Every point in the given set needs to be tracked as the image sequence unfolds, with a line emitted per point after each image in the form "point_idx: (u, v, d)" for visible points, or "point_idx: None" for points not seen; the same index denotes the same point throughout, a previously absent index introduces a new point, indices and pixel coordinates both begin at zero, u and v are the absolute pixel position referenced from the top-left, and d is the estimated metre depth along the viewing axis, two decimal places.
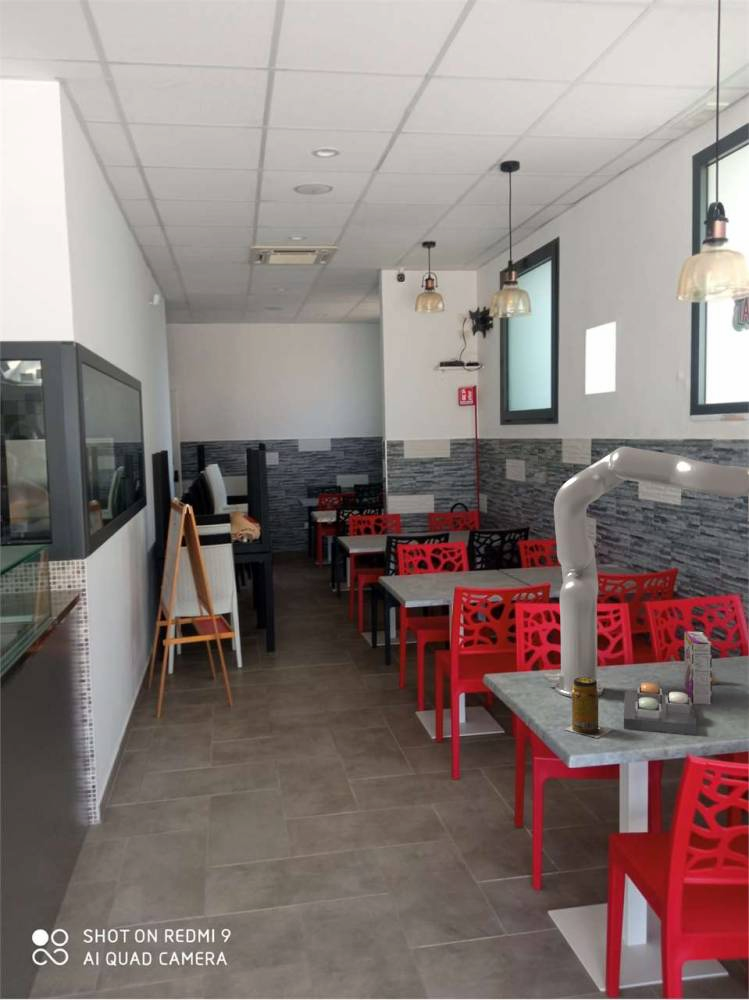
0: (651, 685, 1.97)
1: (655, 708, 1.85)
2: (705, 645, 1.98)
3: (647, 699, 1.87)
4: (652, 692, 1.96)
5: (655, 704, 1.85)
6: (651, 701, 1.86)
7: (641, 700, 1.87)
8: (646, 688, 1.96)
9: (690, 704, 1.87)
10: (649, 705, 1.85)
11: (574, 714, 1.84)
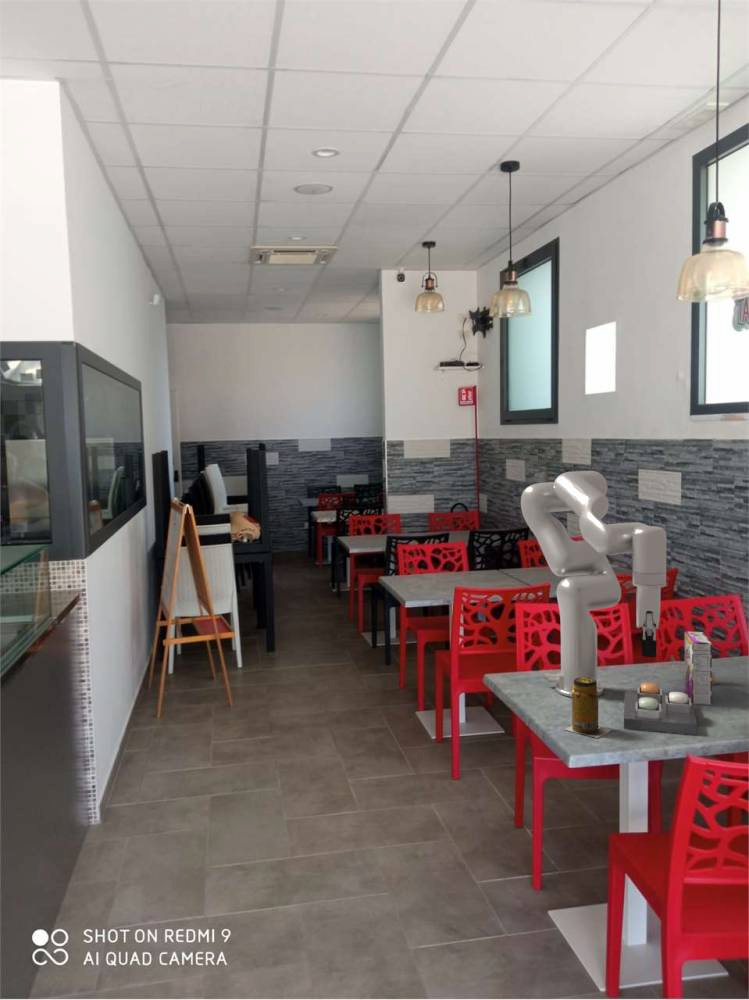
0: (651, 685, 1.97)
1: (655, 708, 1.85)
2: (705, 645, 1.98)
3: (647, 699, 1.87)
4: (652, 692, 1.96)
5: (655, 704, 1.85)
6: (651, 701, 1.86)
7: (641, 700, 1.87)
8: (646, 688, 1.96)
9: (690, 704, 1.87)
10: (649, 705, 1.85)
11: (574, 714, 1.84)
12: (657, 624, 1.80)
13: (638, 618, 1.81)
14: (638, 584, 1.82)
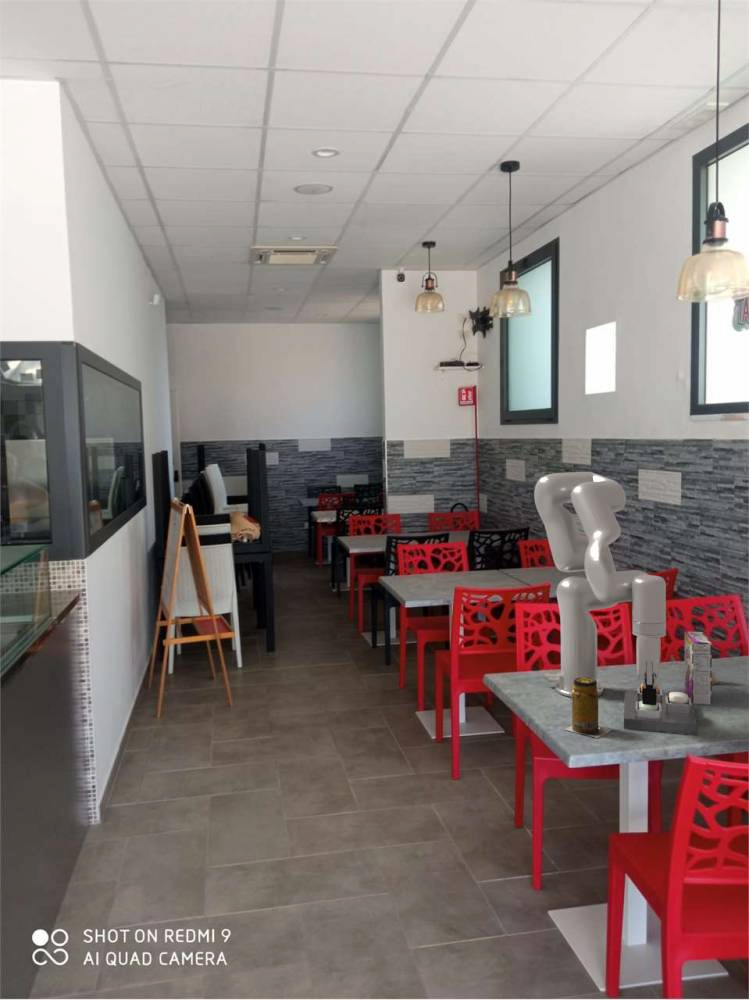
0: None
1: None
2: (705, 645, 1.98)
3: None
4: None
5: (655, 707, 1.85)
6: None
7: (641, 703, 1.87)
8: None
9: (690, 704, 1.87)
10: (649, 708, 1.85)
11: (574, 714, 1.84)
12: (657, 674, 1.81)
13: (638, 668, 1.82)
14: (638, 634, 1.83)
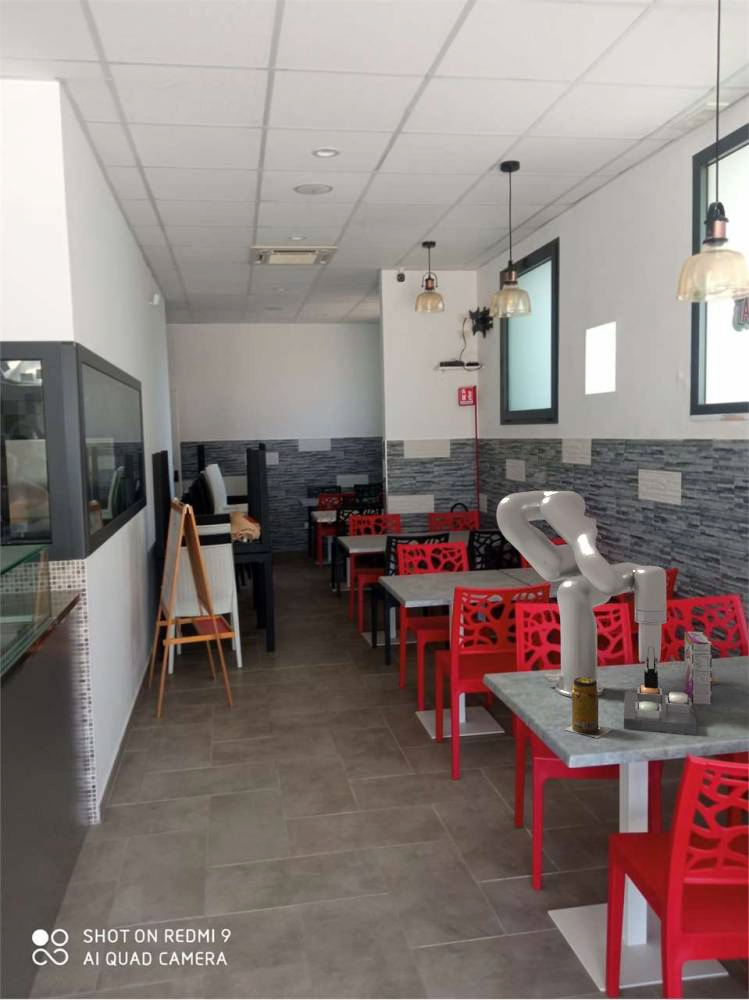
0: None
1: None
2: (705, 645, 1.98)
3: (647, 703, 1.87)
4: None
5: (655, 708, 1.85)
6: (651, 705, 1.86)
7: (641, 704, 1.87)
8: (646, 690, 1.96)
9: (690, 704, 1.87)
10: (649, 709, 1.85)
11: (574, 714, 1.84)
12: (658, 659, 1.92)
13: (640, 653, 1.93)
14: (640, 621, 1.94)
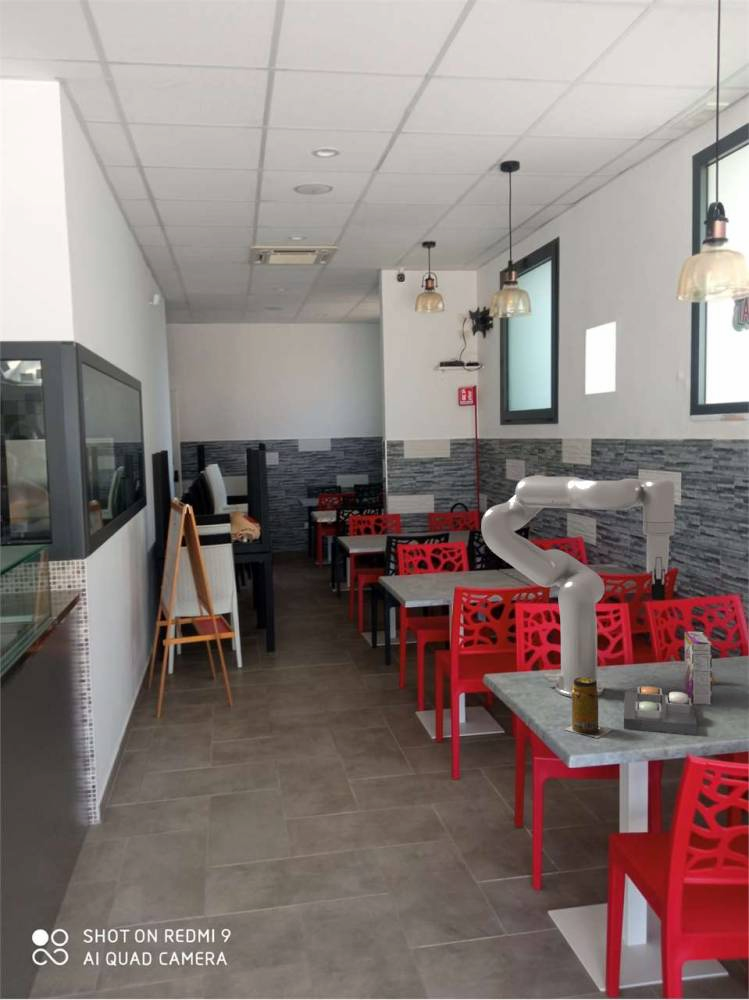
0: (651, 689, 1.97)
1: None
2: (705, 645, 1.98)
3: (647, 703, 1.87)
4: None
5: (655, 708, 1.85)
6: (651, 705, 1.86)
7: (641, 704, 1.87)
8: (646, 692, 1.96)
9: (690, 704, 1.87)
10: (649, 709, 1.85)
11: (574, 714, 1.84)
12: (666, 569, 1.94)
13: (648, 564, 1.96)
14: (648, 533, 1.97)
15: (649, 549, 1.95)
